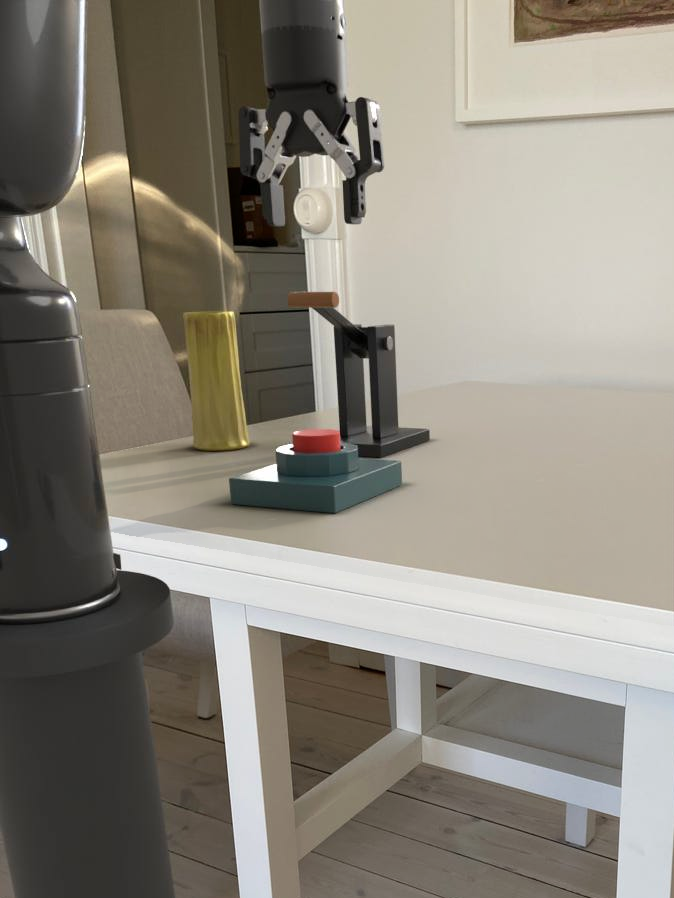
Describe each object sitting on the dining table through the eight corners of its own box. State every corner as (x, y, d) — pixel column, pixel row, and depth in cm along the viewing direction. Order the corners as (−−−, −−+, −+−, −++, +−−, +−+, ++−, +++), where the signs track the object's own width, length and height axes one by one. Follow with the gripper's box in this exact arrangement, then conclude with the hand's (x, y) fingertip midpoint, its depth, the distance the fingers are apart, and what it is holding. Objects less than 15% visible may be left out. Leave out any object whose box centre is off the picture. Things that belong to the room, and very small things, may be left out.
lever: (330, 308, 94) (334, 284, 94) (285, 308, 96) (289, 284, 96) (389, 359, 107) (393, 337, 107) (348, 358, 108) (352, 336, 108)
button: (325, 458, 83) (324, 436, 82) (284, 455, 84) (282, 434, 84) (349, 450, 86) (348, 430, 86) (309, 448, 88) (308, 427, 87)
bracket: (381, 457, 103) (375, 328, 99) (306, 453, 106) (297, 327, 102) (430, 440, 114) (426, 322, 109) (360, 436, 117) (354, 322, 112)
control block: (335, 513, 79) (332, 463, 78) (230, 504, 83) (226, 456, 82) (402, 485, 90) (400, 440, 88) (307, 478, 93) (304, 435, 92)
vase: (257, 442, 113) (245, 310, 109) (239, 451, 108) (226, 313, 103) (205, 442, 114) (191, 311, 109) (185, 451, 108) (169, 313, 103)
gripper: (212, 30, 89) (229, 225, 95) (352, 14, 84) (361, 221, 90) (260, 47, 96) (273, 228, 101) (392, 33, 91) (398, 225, 96)
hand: (314, 225), depth 96 cm, fingers open, 8 cm apart
